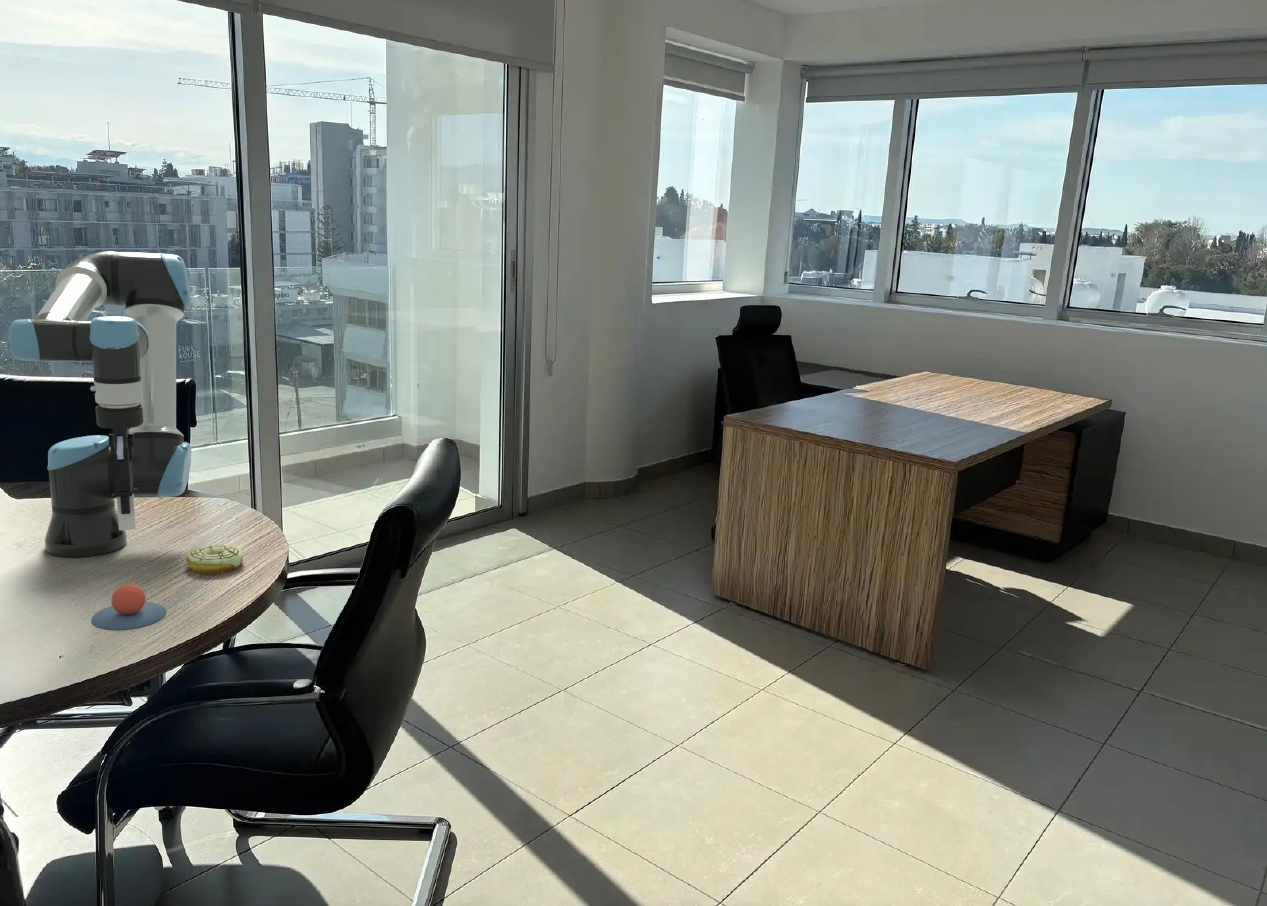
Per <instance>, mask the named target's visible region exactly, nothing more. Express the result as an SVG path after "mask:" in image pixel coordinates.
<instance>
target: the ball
mask: <svg viewBox="0 0 1267 906" xmlns="http://www.w3.org/2000/svg"><path fill="white" fill-rule="evenodd" d="M146 600H147V599H146V594H145V591H144V590H143V589H142V588H141V587H140V586H138V585H136V584H133V583H128V584H126V583H125V584H122V585H120V586H119V587H117V588H116V589H115V590H114V592H113V593H112V596H111V606H113V608H114V609H115V610H116V611H117V612H118V613H120V614H123V615H131V614H135V613H137V612H138V611H140V610H141V609H142V607H143V606H144V604H145V602H146Z"/></svg>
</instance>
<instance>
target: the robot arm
mask: <svg viewBox="0 0 1267 906" xmlns="http://www.w3.org/2000/svg"><path fill="white" fill-rule="evenodd" d="M187 271H188V270H187V266H186V263H185V261H184V259H183V257H182V256H179V255H177V254H171V253H170V254H169V253H162V252H159V253H153V252H152V253H151V252H128V251H108V250H107V251H99V252H95V253H91V254H89V255H86V256H83V257H80V258H78V259H76V260H74V261H72V262H71V263H69V264H67V266H65V267H64V268H62V270H61V271H60V272H59V274H58V275H57V276H56V280H55V283H54V285H55V289H54V290H53V292H52V294H51V295H50V297H48V299H47V301H45V304H44V305H43V306H42V308H41V309H40V311H39V312H38V314H37V315H36V317H34V319H31V318H25V319H24V318H23V319H14V321H12V322H11V324H10V325H9V329H8V344H9V349H10V352H11V354H12V357H13V358H14V359H15V360H18V361H27V362H28V361H29V362H34V363H39V362H48V363H49V362H55V363H56V362H61V363H62V362H63V363H65V362H67V363H68V362H69V363H70V362H71V363H72V362H73V363H74V362H75V363H76V362H77V363H79V362H81V363H82V362H83V363H92V372H93V384H94V385H90V388H89V389H90V391H91V392H95V393H94V398H95V400H94V401H95V403H96V404H97V406H96V407H95V417H96V418H95V419H96V425H97V426H98V427H99V428H102V429H111V430H112V433H109V436H108V435H101V434H99V435H98V434H97V435H95V434H94V435H86V436H81V437H80V436H79V437H73V438H69V439H66V440H63V441H59V442H57V443H55V444H54V445H52V446H51V447H50V448H49V449H48V452H47V462H48V463H47V467H46V469H47V470H48V478H49V479H48V480H49V490H50V501H51V518H50V521H49V525H48V527H47V529H46V530H47V531H46V534H45V539H44V544H45V548H44V549H45V551H46V552H47V553H48V554H50V555H53V556H57V557H63V558H81V557H82V558H84V557H92V556H98V555H99V556H100V555H103V554H104V555H105V554H108V553H111V552H114V551H117V550H119V549H121V548H123V547H124V546H126V544H127V534H126V533H127V532H126V531H128V530H129V531H131V530H136V527H137V525H136V509H135V499H137V498H138V499H141V498H144V499H145V498H158V499H163V498H169V497H178V496H181V495H182V494H183V493H184V492H185V491H186V488H187V485H188V483H189V482H188V481H189V478H190V472H191V465H192V464H191V463H192V446H191V444H190V443H189V442H187V441H184V438H185V437H184V434H183V433H182V432H181V431H180V430H179V429H178V428H177V323H178V322H179V321H180V320H181V319H182V318H184V316H185V309H189V308H191V307H192V304H193V303H192V293H191V286H190V285H191V284H190V279H189V276H188V272H187ZM100 306H121V307H123V306H124V308H125V310H124V311H125V314H126V315H127V316H121V315H120V316H118V315H115V316H114V315H112V316H111V315H110V316H109V315H107V316H98V317H94V318H93V319H91V320H88V319H89V317H90V315H91V314H92V312H93V310H94V309H95V310H96V308H99V307H100ZM115 500H116V503H115ZM116 505H117V507H116ZM116 508H117V509H116Z"/></svg>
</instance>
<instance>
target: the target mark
mask: <svg viewBox="0 0 1267 906" xmlns="http://www.w3.org/2000/svg"><path fill="white" fill-rule="evenodd" d="M166 615H167V608H165V606H163V605H162V604H160V603H159V604H158V603H155V602H149V601H147V602H146V601H145V604H144V606H143V607H142V609H141V610H140V611H138V612H137V613H135V614H131V615H123V614H120V613H118V612H117V611H116V610H115V609H114V608H113V606H112V605H111V606H108V607H105V608H103V609H101V610H98V611H96V612H95V613H94V614H93V615H92V617H91V623H92V625H93V626H95V627H97V628H100V629H103V630H108V631H109V630H110V631H123V630H124V631H126V630H134V629H140V628H144V627H147V626H150V625H152V624H156V623H157V622H159V621H161V620H163V618H164V617H165V616H166Z"/></svg>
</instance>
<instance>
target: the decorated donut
mask: <svg viewBox="0 0 1267 906" xmlns="http://www.w3.org/2000/svg"><path fill="white" fill-rule="evenodd" d="M243 556H244V553H243V551H242V550H241V549H240V548H238V547H236V546H233V545H222V544H218V545H207V546H201V547H197V548H195V549H193V550H192V549H191V551H189V552H188V553H187V554H186V559H185V560H186V561H185V562H186V564H187V566H188V567H189V568H190V570H191V571H193V572H194V573H197V574H202V575H208V574H209V575H210V574H211V575H217V574H216V573H219V574H223V573H222V572H224V573H228V572H230V571H232V569H233V570H235V569H238V568H239V567H240V566H241V565H242V562H243V558H244V557H243ZM237 567H238V568H237ZM227 571H228V572H227Z"/></svg>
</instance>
